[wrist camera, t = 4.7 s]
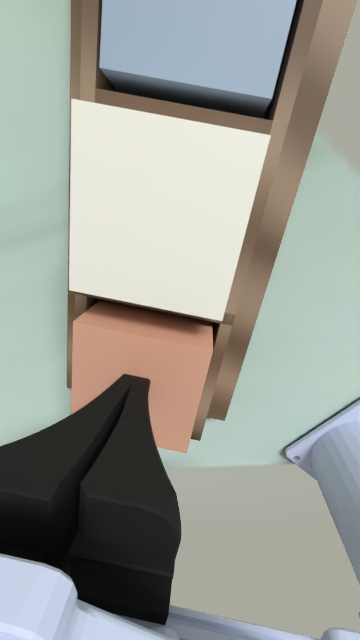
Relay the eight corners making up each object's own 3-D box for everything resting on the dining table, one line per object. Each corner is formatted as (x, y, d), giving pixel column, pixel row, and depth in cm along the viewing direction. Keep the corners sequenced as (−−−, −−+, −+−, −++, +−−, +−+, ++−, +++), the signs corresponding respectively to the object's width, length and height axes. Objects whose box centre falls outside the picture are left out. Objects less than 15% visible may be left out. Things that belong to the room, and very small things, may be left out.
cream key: (219, 297, 14) (222, 321, 11) (98, 273, 14) (68, 290, 11) (254, 155, 11) (270, 135, 8) (107, 128, 11) (71, 98, 8)
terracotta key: (190, 411, 17) (186, 453, 14) (94, 391, 17) (70, 428, 14) (212, 322, 15) (213, 350, 12) (100, 300, 15) (72, 321, 12)
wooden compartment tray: (223, 406, 21) (227, 455, 17) (76, 375, 21) (43, 415, 17) (374, -87, 11) (477, -274, 7) (90, -133, 11) (19, -340, 7)
